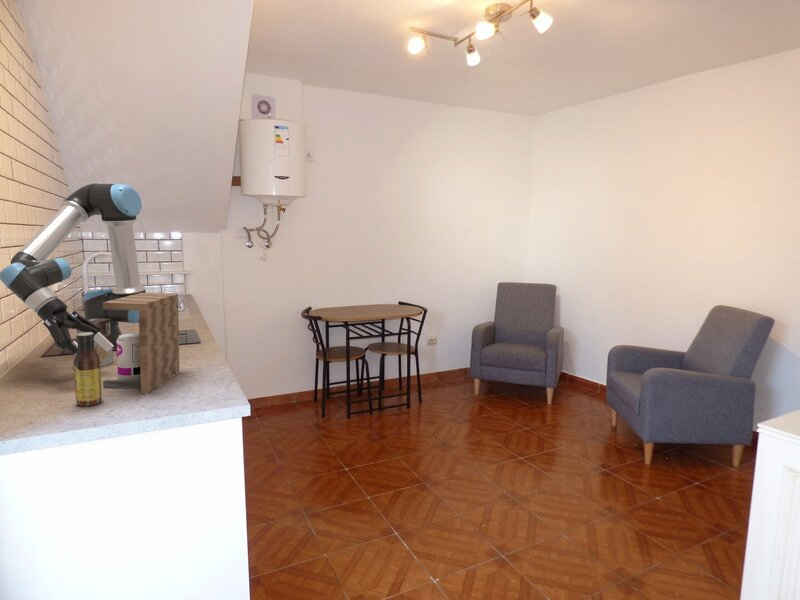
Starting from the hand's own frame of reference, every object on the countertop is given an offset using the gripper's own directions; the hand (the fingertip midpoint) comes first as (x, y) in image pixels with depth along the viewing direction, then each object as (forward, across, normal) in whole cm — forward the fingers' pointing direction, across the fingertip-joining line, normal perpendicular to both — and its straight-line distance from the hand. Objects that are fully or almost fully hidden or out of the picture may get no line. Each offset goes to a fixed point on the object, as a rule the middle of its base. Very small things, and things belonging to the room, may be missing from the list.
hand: (99, 354), depth 158 cm
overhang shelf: (+15, 0, +3) cm, 15 cm away
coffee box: (-1, -18, -14) cm, 23 cm away
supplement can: (+13, 0, +1) cm, 13 cm away
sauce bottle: (+12, +21, -1) cm, 24 cm away
